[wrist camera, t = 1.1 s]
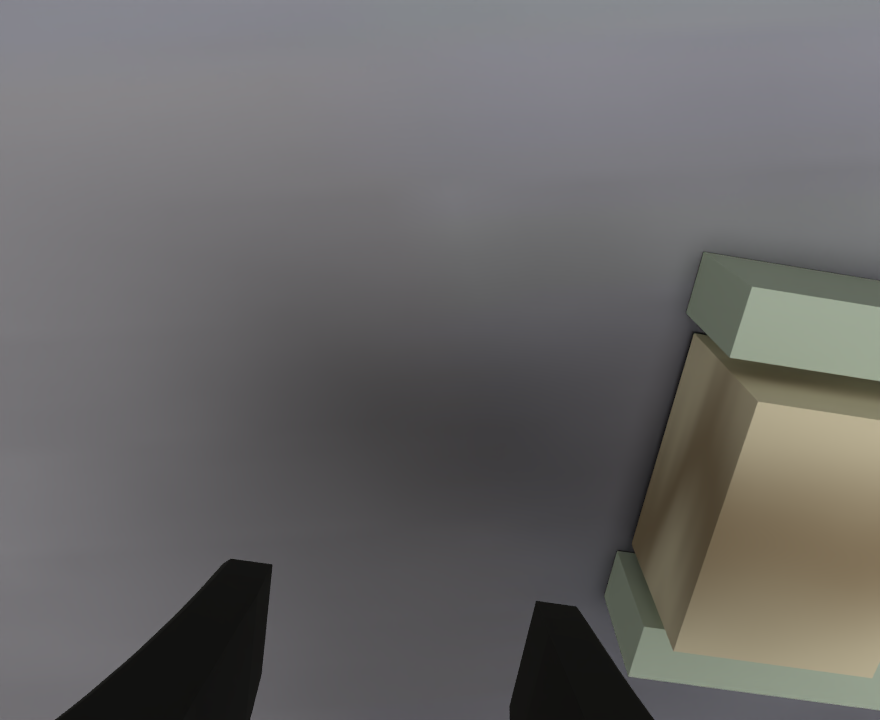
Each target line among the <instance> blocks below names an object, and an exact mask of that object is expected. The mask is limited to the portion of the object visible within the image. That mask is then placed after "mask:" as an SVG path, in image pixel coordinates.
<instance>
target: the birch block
mask: <svg viewBox="0 0 880 720" xmlns="http://www.w3.org/2000/svg"><path fill="white" fill-rule="evenodd" d="M632 546H633V549H634V552H635V554H636V557H637V559H638V562H639V564H640V567H641V569H642V572H643V575H644V577H645V580H646V582H647V585H648V587H649V590H650V593H651V595H652V598H653V600H654V603H655V605H656V608H657V611H658V613H659V616H660V618H661V621H662V623H663V626H664V629H665V631H666V634H667V636H668V639H669V641H670V644H671V646H672V649H673V651H675V652H683V653H690V654H697V655H705V656H712V657H719V658H727V659H734V660H741V661H749V662H756V663H763V664H771V665H778V666H785V667H793V668H800V669H807V670H815V671H822V672H829V673H837V674H844V675H851V676H859V677H866V678H873V676H874V673H875V671H876V669H877V667H878V665H879V663H880V381H875V380H869V379H863V378H856V377H850V376H843V375H837V374H831V373H824V372H818V371H812V370H805V369H799V368H792V367H786V366H780V365H773V364H767V363H761V362H754V361H748V360H741V359H735V358H729V357H728V356H727V355H726V353H725V352H724V351H723V350H722V349H721V348H720V347H719V346H718V345H717V344H716V343H715V342H714V341H713V340H712V339H711V338H710V337H709V336H708V335H703V334H697V333H694V335H693V339H692V342H691V345H690V349H689V352H688V355H687V359H686V362H685V366H684V369H683V372H682V376H681V379H680V382H679V386H678V389H677V393H676V396H675V399H674V403H673V406H672V409H671V413H670V416H669V420H668V423H667V426H666V430H665V433H664V436H663V440H662V443H661V447H660V450H659V453H658V457H657V460H656V463H655V467H654V470H653V474H652V477H651V480H650V484H649V487H648V490H647V494H646V497H645V501H644V504H643V507H642V511H641V514H640V517H639V521H638V524H637V528H636V531H635V534H634V538H633V541H632Z"/></svg>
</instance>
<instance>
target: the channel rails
mask: <svg viewBox="0 0 880 720" xmlns="http://www.w3.org/2000/svg"><path fill="white" fill-rule="evenodd" d="M686 314H687V315H688V316H689V317H690V318H691V319H692V320H693V321H694V322H695V323H696V324H697V325H698V326H699V327H700V328H701V329H702V330H703V331H704V332H705V333H706V334H707V335H708V336H709V337H710V338H711V339H712V340H713V341H714V342H715V343H716V344H717V345H718V346H719V347H720V348H721V349H722V350H723V351H724V352H725V353H726V355H727V356H728V357H729V358H735V359H741V360H748V361H754V362H761V363H767V364H773V365H780V366H786V367H792V368H799V369H805V370H812V371H818V372H824V373H831V374H837V375H843V376H850V377H856V378H863V379H869V380H875V381H880V281H878V280H872V279H866V278H860V277H853V276H847V275H841V274H835V273H829V272H823V271H817V270H811V269H805V268H799V267H792V266H786V265H780V264H774V263H768V262H762V261H756V260H750V259H744V258H737V257H731V256H725V255H719V254H713V253H707V252H704V253H703V256H702V260H701V263H700V267H699V270H698V274H697V277H696V280H695V284H694V287H693V291H692V294H691V298H690V301H689V305H688V308H687V312H686ZM604 597H605V601H606V604H607V607H608V611H609V614H610V617H611V621H612V624H613V627H614V631H615V634H616V637H617V641H618V644H619V647H620V651H621V654H622V657H623V661H624V664H625V667H626V671H627V674H628V677H635V678H642V679H650V680H657V681H665V682H672V683H679V684H687V685H694V686H702V687H709V688H717V689H724V690H732V691H739V692H747V693H754V694H761V695H769V696H776V697H784V698H791V699H799V700H806V701H814V702H821V703H829V704H836V705H843V706H851V707H858V708H866V709H873V710H880V663H879V665H878V667H877V669H876V671H875V673H874V676H873V678H866V677H859V676H851V675H844V674H837V673H829V672H822V671H815V670H807V669H800V668H793V667H785V666H778V665H771V664H763V663H756V662H749V661H741V660H734V659H727V658H719V657H712V656H705V655H697V654H690V653H683V652H675V651H673V649H672V646H671V644H670V641H669V639H668V636H667V634H666V631H665V629H664V626H663V623H662V621H661V618H660V616H659V613H658V611H657V608H656V605H655V603H654V600H653V598H652V595H651V593H650V590H649V587H648V585H647V582H646V580H645V577H644V575H643V572H642V569H641V567H640V564H639V562H638V559H637V557H636V554H635V553H628V552H621V551H617V553H616V557H615V560H614V564H613V567H612V571H611V574H610V578H609V581H608V584H607V588H606V591H605V595H604Z"/></svg>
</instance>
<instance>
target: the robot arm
mask: <svg viewBox="0 0 880 720" xmlns="http://www.w3.org/2000/svg"><path fill="white" fill-rule="evenodd" d="M271 574H272V564H265V563H258V562H250V561H243V560H236V559H230V560H228V561H227V562H225V563H224V564H222V565H221V567H220V568H219V569H218V570H217V571H216V572H215V573H214V575H213V576H212V577H211V578H210V579H209V580H208V581H207V582H206V583H205V585H204V586H203V587H202V588H201V589H200V590H199V591H198V592H197V593H196V594H195V595H194V596H193V597H192V598H191V599H190V600H189V601H188V602H187V604H186V605H185V606H184V607H183V608H182V609H181V610H180V611H179V612H178V613H177V614H176V615H175V616H174V617H173V618H172V619H171V620H170V621H169V622H168V623H166V624H165V625H164V626H163V627H162V628H161V629H160V630H159V631H158V632H157V633H156V634H155V635H154V636H153V637H152V638H151V639H150V640H149V641H148V642H147V643H145V644H144V645H143V646H142V647H141V648H140V649H139V650H138V651H137V652H136V653H135V654H134V655H133V656H131V657H130V658H129V659H128V660H127V661H126V662H125V663H123V664H122V665H121V666H120V667H119V668H118V669H116V670H115V671H114V672H113V673H112V674H111V675H109V676H108V677H107V678H106V679H105V680H104V681H102V682H101V683H100V684H99V685H98V686H96V687H95V688H94V689H93V690H92V691H91V692H89V693H88V694H87V695H86V696H85V697H83V698H82V699H81V700H80V701H78V702H77V703H76V704H75V705H73V706H72V707H71V708H70V709H68V710H67V711H66V712H65V713H63V714H62V715H61V716H59V717H58V718H57V719H55V720H250V717H251V714H252V710H253V706H254V702H255V698H256V694H257V690H258V686H259V682H260V678H261V674H262V664H263V654H264V644H265V634H266V624H267V614H268V604H269V594H270V584H271ZM510 720H654V719H653V717H652V716H651V715H650V713H649V712H648V710H647V709H646V708H645V706H644V705H643V704H642V702H641V701H640V699H639V698H638V697H637V695H636V694H635V693H634V691H633V690H632V688H631V687H630V685H629V684H628V683H627V681H626V680H625V678H624V677H623V675H622V674H621V672H620V671H619V669H618V668H617V666H616V665H615V663H614V662H613V660H612V659H611V657H610V656H609V654H608V653H607V651H606V650H605V648H604V647H603V645H602V644H601V642H600V641H599V639H598V638H597V636H596V635H595V633H594V632H593V630H592V629H591V627H590V626H589V624H588V623H587V621H586V620H585V618H584V617H583V615H582V614H581V612H580V611H579V610H578V608H577V607H576V606H568V605H561V604H554V603H547V602H540V601H536V604H535V607H534V611H533V615H532V619H531V623H530V627H529V631H528V635H527V639H526V643H525V647H524V651H523V655H522V659H521V663H520V667H519V671H518V675H517V679H516V683H515V687H514V691H513V695H512V699H511V703H510Z"/></svg>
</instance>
